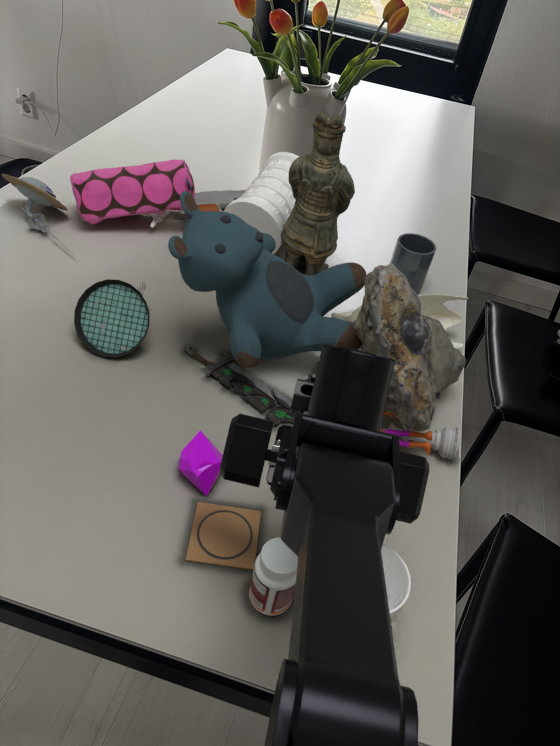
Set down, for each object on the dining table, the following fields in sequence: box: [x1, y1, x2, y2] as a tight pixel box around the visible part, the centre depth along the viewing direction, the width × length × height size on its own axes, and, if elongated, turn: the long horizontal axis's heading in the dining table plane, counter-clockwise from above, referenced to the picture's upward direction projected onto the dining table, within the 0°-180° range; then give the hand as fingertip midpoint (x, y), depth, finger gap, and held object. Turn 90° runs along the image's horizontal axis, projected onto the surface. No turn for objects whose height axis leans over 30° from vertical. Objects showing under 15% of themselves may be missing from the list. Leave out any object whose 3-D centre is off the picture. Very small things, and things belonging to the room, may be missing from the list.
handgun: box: [170, 189, 246, 222], centre depth 120 cm, size 4×26×15 cm
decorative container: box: [224, 151, 300, 255], centre depth 113 cm, size 12×12×18 cm
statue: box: [281, 111, 356, 276], centre depth 100 cm, size 11×9×30 cm
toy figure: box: [380, 409, 433, 456], centre depth 82 cm, size 8×12×3 cm
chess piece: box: [383, 422, 461, 461], centre depth 84 cm, size 4×4×10 cm
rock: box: [353, 263, 467, 432], centre depth 82 cm, size 25×21×15 cm
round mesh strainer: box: [73, 278, 153, 358], centre depth 91 cm, size 11×12×6 cm
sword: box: [185, 344, 295, 426], centre depth 88 cm, size 1×25×7 cm
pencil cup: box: [389, 232, 437, 296], centre depth 110 cm, size 7×7×9 cm
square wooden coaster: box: [185, 501, 262, 571], centre depth 70 cm, size 8×8×1 cm
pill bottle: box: [248, 536, 298, 617], centre depth 63 cm, size 5×5×8 cm
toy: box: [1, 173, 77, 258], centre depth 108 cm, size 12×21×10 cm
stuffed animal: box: [167, 191, 367, 369], centre depth 83 cm, size 23×18×28 cm
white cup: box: [381, 542, 412, 622], centre depth 62 cm, size 8×8×10 cm
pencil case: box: [69, 159, 196, 225], centre depth 111 cm, size 21×10×10 cm
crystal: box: [177, 429, 223, 497], centre depth 75 cm, size 5×5×5 cm
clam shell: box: [330, 293, 469, 349], centre depth 101 cm, size 22×12×12 cm, turn 106°
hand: (319, 459), depth 66 cm, fingers closed on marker, 3 cm apart
